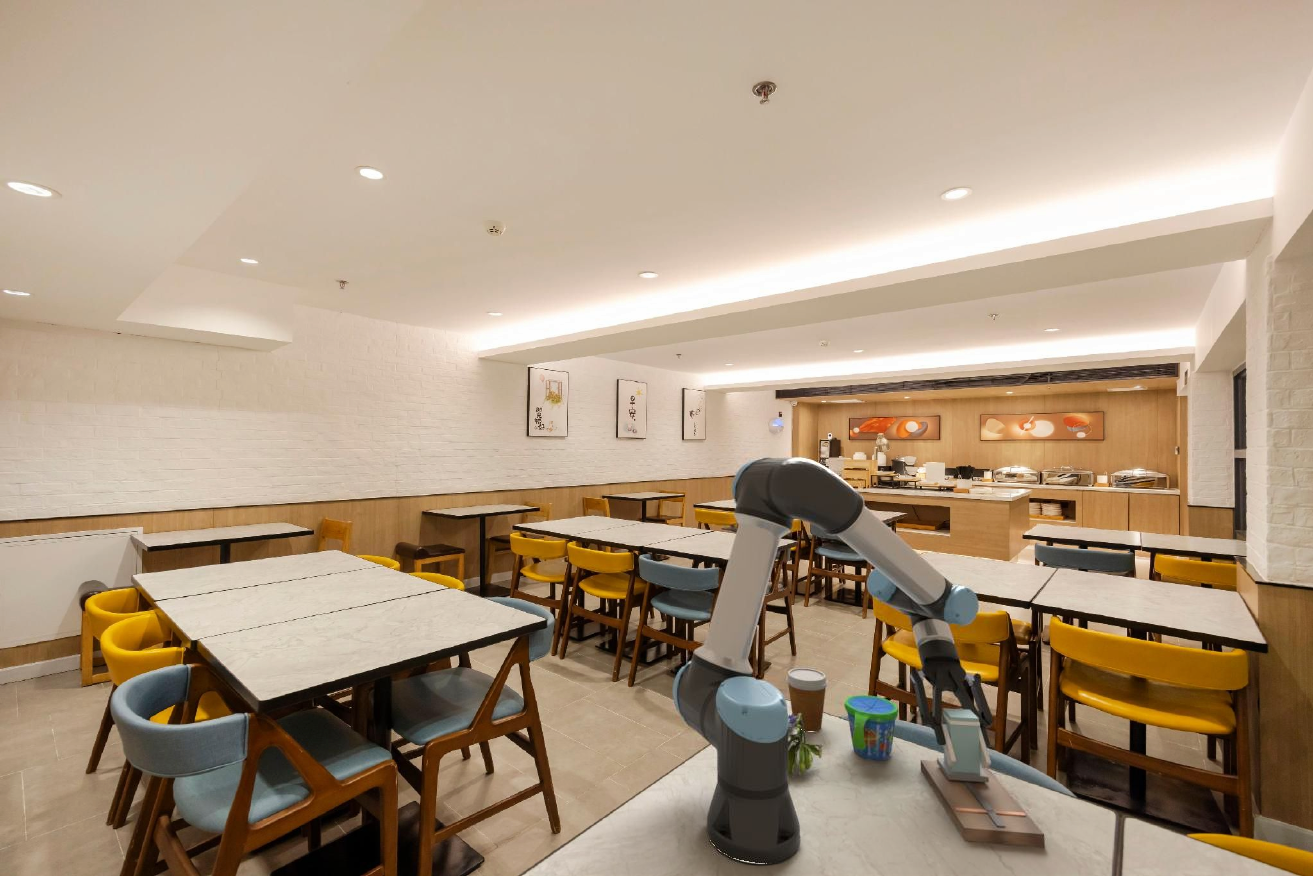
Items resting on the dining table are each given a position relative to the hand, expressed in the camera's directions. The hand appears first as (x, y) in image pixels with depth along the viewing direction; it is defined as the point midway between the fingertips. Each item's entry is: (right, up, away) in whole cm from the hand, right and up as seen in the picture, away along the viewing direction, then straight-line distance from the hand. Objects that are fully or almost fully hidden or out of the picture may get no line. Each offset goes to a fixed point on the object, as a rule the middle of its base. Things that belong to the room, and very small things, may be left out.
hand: (969, 764), depth 105 cm
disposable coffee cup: (-22, -8, +29) cm, 37 cm away
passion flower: (-30, -7, +12) cm, 33 cm away
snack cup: (-12, -7, +16) cm, 21 cm away
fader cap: (+1, -4, +3) cm, 5 cm away
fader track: (0, -6, -3) cm, 6 cm away
